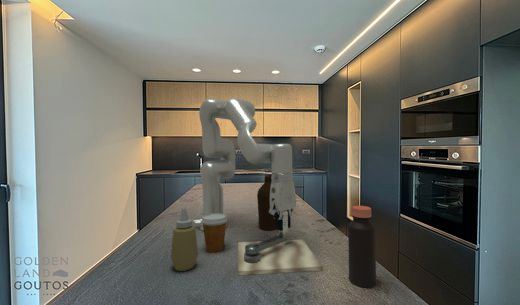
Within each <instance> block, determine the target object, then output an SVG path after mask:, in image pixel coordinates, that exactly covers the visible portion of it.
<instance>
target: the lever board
mask: <svg viewBox="0 0 520 305" xmlns="http://www.w3.org/2000/svg"><path fill="white" fill-rule="evenodd" d="M262 241H263V240H262ZM262 241H241V242H239V241H238V242H237V276H247V275H249V276H250V275H251V276H252V275H268V274H283V273H300V272H301V273H302V272H316V271H317V272H320V271H323V270H324V269H323V265H322V264H321V262H320V261H319V259H318V258H317V257H316V256H315V254H314V253H313V251H312V250H311V249H310V247H309V246H308V244H307V243H306V242H305V240H304V239H286V241H284V242H282V243H279V244H277V245H274V246H272V247H269V248H267V249H264V250H262V251H259V254H258V255H255V256H248V255H246V254H245V246H246V245H248V244H257V243H260V242H262Z"/></svg>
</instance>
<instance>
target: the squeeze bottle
mask: <svg viewBox="0 0 520 305" xmlns="http://www.w3.org/2000/svg"><path fill="white" fill-rule="evenodd" d="M175 225H176V227H175V228H174V229H173V230H172V240H171V249H170V250H171V252H170V259H171V262H172V265H173V268H174V270H176V271H179V272H184V271H189V270H191V269H193V268H194V267H195V265H196V263H197V259H198V255H199V251H198V250H199V249H198V243H197V232H196V226H193V220H192V219H191V218H189V215H188V211H187V208H182V209H181V212H180V217H179V219H178V220H176V224H175Z"/></svg>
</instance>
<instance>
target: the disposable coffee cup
mask: <svg viewBox="0 0 520 305" xmlns="http://www.w3.org/2000/svg"><path fill="white" fill-rule="evenodd" d="M227 217H228V216H227V214H226V213H224V214H221V213H213V214H207V215H204V216H203V215H202V218H201V219H202V220H201V222H202V224H203V230H204V231H203V235H204V243H205V250H206V252H209V253H218V252H221V251H223V250H224V245H225V238H226V229H227V227H226V224H227V222H228V219H229V218H227Z"/></svg>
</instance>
